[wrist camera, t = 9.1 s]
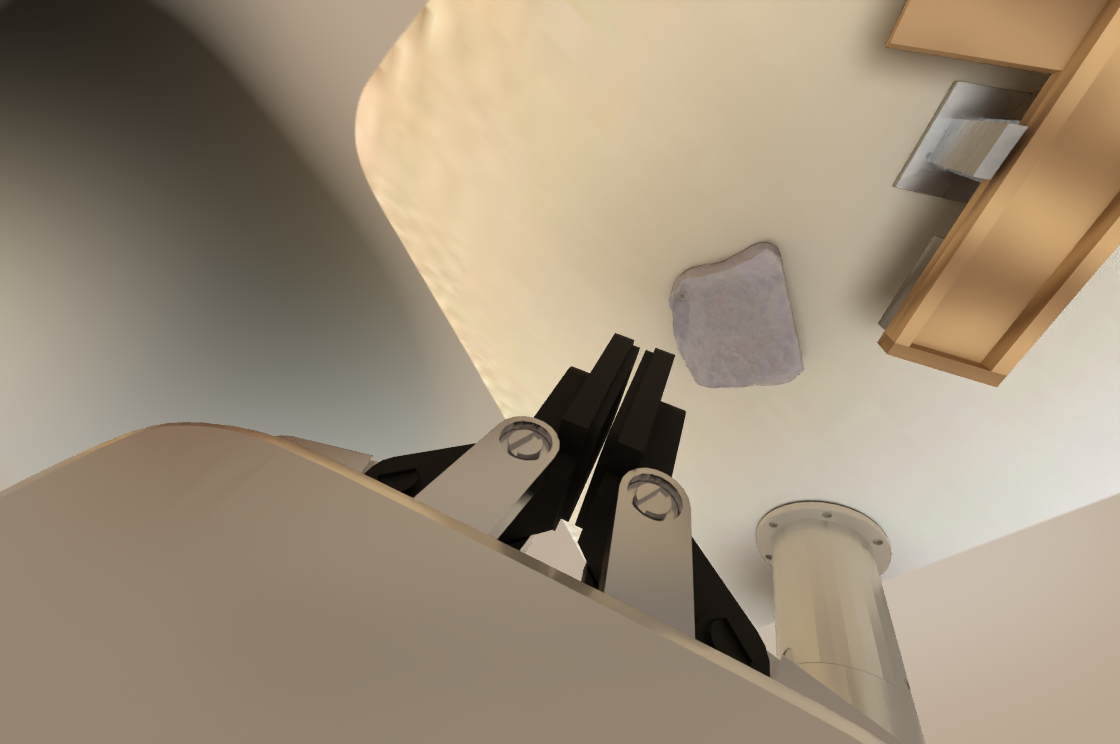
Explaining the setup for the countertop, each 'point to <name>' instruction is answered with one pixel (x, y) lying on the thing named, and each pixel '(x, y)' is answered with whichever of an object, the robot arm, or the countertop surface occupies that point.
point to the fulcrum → (965, 141)
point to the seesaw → (1018, 186)
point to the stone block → (737, 321)
